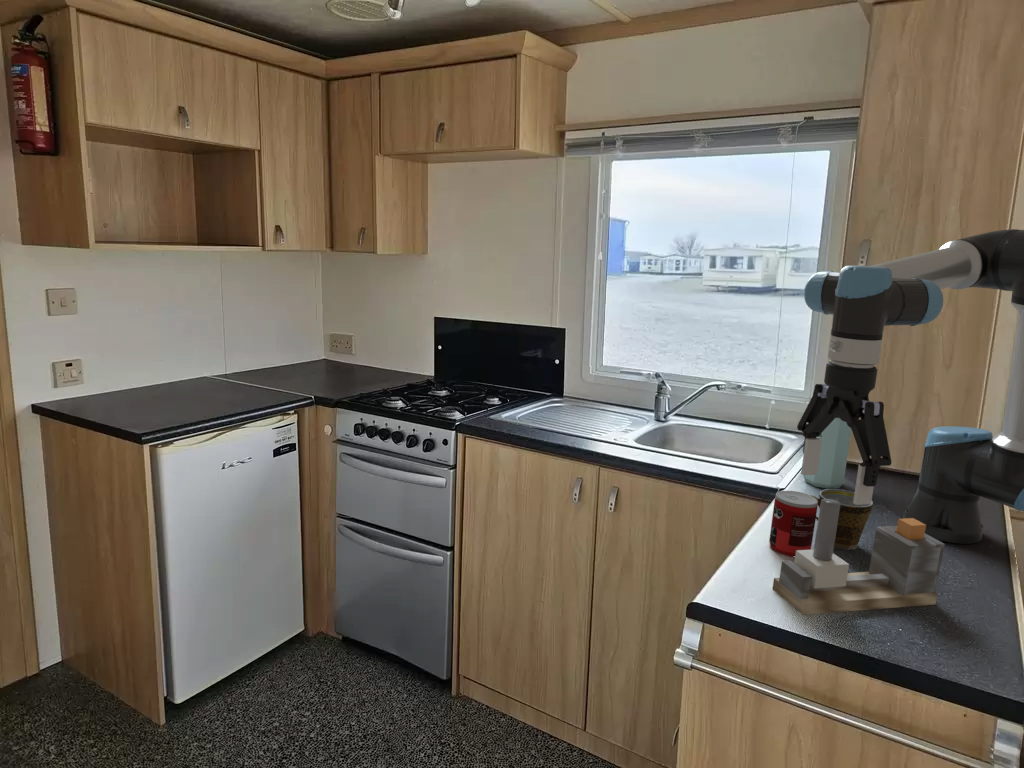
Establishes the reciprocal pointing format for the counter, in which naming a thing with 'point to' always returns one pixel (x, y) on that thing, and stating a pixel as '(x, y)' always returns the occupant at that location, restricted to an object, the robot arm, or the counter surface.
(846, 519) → the ceramic cup
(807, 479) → the water bottle
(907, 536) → the button
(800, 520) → the canned food
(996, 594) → the counter surface
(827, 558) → the carriage
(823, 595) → the rail stand
